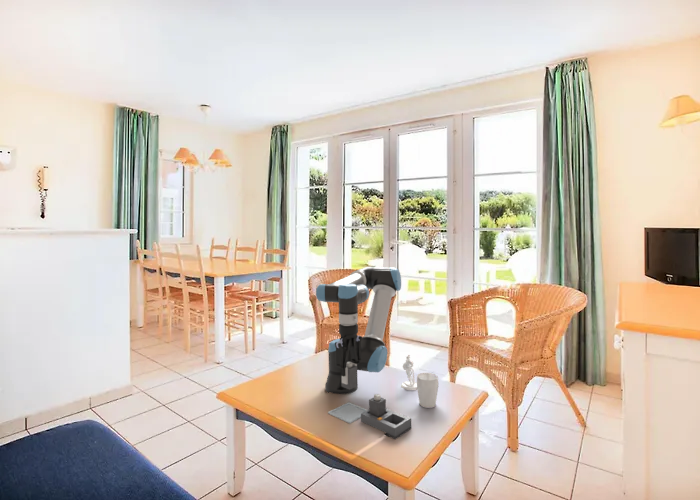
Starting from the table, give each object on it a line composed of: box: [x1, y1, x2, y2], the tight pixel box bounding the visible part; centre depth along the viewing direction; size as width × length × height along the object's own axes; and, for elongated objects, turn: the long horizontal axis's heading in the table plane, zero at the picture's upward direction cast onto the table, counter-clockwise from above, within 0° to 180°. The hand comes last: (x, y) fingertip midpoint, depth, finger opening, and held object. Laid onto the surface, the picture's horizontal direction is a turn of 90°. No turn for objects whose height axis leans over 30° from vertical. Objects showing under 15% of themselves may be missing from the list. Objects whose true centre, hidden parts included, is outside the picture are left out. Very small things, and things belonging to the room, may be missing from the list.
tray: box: [327, 402, 368, 424], centre depth 149 cm, size 12×12×2 cm
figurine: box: [400, 354, 418, 391], centre depth 177 cm, size 9×9×15 cm
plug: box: [341, 362, 359, 390], centre depth 149 cm, size 4×4×10 cm
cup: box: [416, 372, 439, 409], centre depth 158 cm, size 9×9×12 cm
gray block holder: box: [360, 393, 412, 440], centre depth 140 cm, size 16×10×10 cm, turn 47°
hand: (349, 381), depth 149 cm, fingers closed on plug, 4 cm apart
